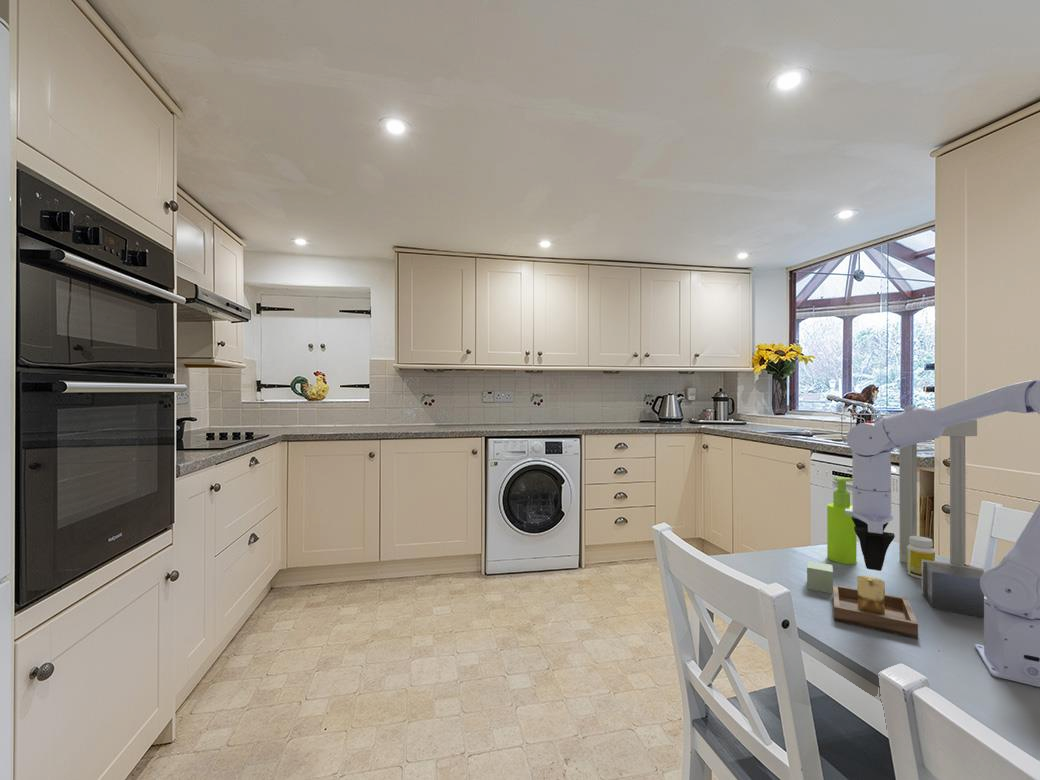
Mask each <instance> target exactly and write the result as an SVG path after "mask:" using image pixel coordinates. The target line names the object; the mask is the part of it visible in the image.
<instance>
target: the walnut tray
mask: <svg viewBox="0 0 1040 780" xmlns="http://www.w3.org/2000/svg"><path fill="white" fill-rule="evenodd" d="M832 602H833V603H832V605H833V619H834V622H837V623H843V624H847V625H851V626H856V627H860V628H865V629H866V628H867V629H871V630H874V631H879V632H884V633H888V634H891V635H892V634H893V635H896V636H897V635H898V636H902V637H905V638H911V639H915V640H919V623H918V621H917V618H916V615H915V614H914V612H913V609H912V606H911V603H910V601H909V599H908V597H905V596H904V597H903V596H897V595H892V594H887V593H885V616H884V615H880V614H875V613H870V612H865V611H860V610H858V588H854V587H849V586H844V585H839V584H838V585H837V584H833V593H832Z"/></svg>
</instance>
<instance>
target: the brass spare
mask: <svg viewBox="0 0 1040 780" xmlns="http://www.w3.org/2000/svg"><path fill="white" fill-rule="evenodd" d="M856 579H857V583H856V584H857V589H858V610H860V611H865V612H870V613H875V614H880V615H884V616H885V594H886V593H885V581H884V580H883V579H881V578H879V577H875V576H870V575H859V576H857V577H856Z"/></svg>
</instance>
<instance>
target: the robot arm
mask: <svg viewBox="0 0 1040 780" xmlns="http://www.w3.org/2000/svg"><path fill="white" fill-rule="evenodd" d="M1005 412H1009V413H1010V412H1011V413H1018V414H1029V413H1030V414H1031V413H1032V414H1033V413H1037V414H1038V415H1040V379H1034V380H1033V379H1032V380H1026V381H1020V382H1017V383H1012V384H1009V385H1005V386H1001V387H997V388H994V389H992V390H989V391H986V392H983V393H980V394H977V395H974V396H972V397H968V398H966V399H962V400H960V401H957V402H954V403H952V404H948V405H945V406H943V407H940V408H937V409H933V408H930V407H928V406H924V405H920V406H917V407H916V405H908V406H905V407H903V411H902V412H898V413H895V414H891V415H889V416H886V417H883V416H881V415H880V416H878V417H875V418H874V422H873V423H868V422H859V423H858V424H857V425H855V426H853V427H851V428H850V429H849V431H848V432H847V434H846V443H847V445H848V447H849V449H850V450H851V451H852V462H851V464H852V467H851V468H852V470H851V474H852V477H851V478H852V481H851V482H852V483H851V484H852V487H851V488H852V491H851V492H852V493H851V494H852V498H851V499H852V504H851V506H852V509H845V514H848V515H853V516H852V517H851V518H852V520H853V522H854V524H855V526H856V527H854V530H855V532H856V537H857V538H858V540H859V545H860V548H861V552H862V553H861V554H862V556H863V560H864V564H865V568H866V569H868V570H872V571H878V572H881V571H883V570H882V569H883V566H884V562H885V559H886V558H885V557H886V555H887V552H888V548H889V546H890V545H891V543H892V542H893V540H894V539H895V537H896V535H895V533H893V532H887V531H885V529H886V528H887V526H888V525H889V522H891V521H893V519H894V518H893V517H894V516H893V513H892V462H891V461H892V460H891V458H892V457H891V455H892V452H893V450H894V449H899V448H902V447H906V446H910V445H913V444H917V445H918V444H920V443H921V444H922V443H924V442H928V441H932V440H935V439H939V438H940V437H942V436H941V435H942V433H943V431H944V429H945V428H946V427H947V426H951V425H955V424H959V423H963V422H967V421H971V420H974V419H977V420H979V419H982V418H985V417H989V416H994V415H998V414H1001V413H1005ZM980 587H981V590H982V592H983V594H984V595H985V596H984V618H983V644H977V643H975V644H974V648H975V650H976V651H977V653H978V654H979V656H980V658H981V660H982V661H983V662H984V665H985V666H986V668H987V670H988V671H989V673H990V675H992V676H994V677H996V678H1000V679H1005V680H1009V681H1012V682H1013V681H1014V682H1017V683H1021V684H1025V685H1030V686H1034V687H1038V688H1040V503H1039V504H1038V506H1037V508H1036V509H1035V510H1034V512H1033V513H1032V516H1031V517H1030V519H1029V520H1028V522H1027V523H1026V525H1025V527H1024V528H1023V530H1022V532H1021V533H1020V535H1019V537H1018V539H1017V540H1016V542H1015V543H1014V544H1013V546H1012V547H1011V548H1010V549H1009V550H1008V552H1007V553H1006V554H1005V555H1004V556H1003V559H1001V561H1000V562H999V563H998V564H997V565H996V566H994V567H992V568H989V569H987V570H986V571H984V573H983V575H982V576H981V579H980Z"/></svg>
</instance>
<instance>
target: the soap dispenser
mask: <svg viewBox="0 0 1040 780" xmlns="http://www.w3.org/2000/svg"><path fill="white" fill-rule="evenodd" d="M833 481H835V482H837V489H834V490H833V493H832V494H833V498H832V499H833V501H832V503H827V504H826V505H827V508H826V513H827V517H826V519H827V523H826V524H827V528H826V529H827V533H826V535H827V539H826V540H827V541H826V542H827V544H826V545H827V546H826V547H827V550H826V551H827V552H826V553H827V554H826V556H827V559H828V560H830V561H832V562H836V563H840V564H845V565H854V564H856V563H857V534H856V532H855V530H854V527H856V526H855V524H854V522H853V520H852V518H851V517H852V516H853V515H848V514H845V509H852V504H851V492H850V491H848V490H847V482H852V477H843V476H841V477H833Z"/></svg>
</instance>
